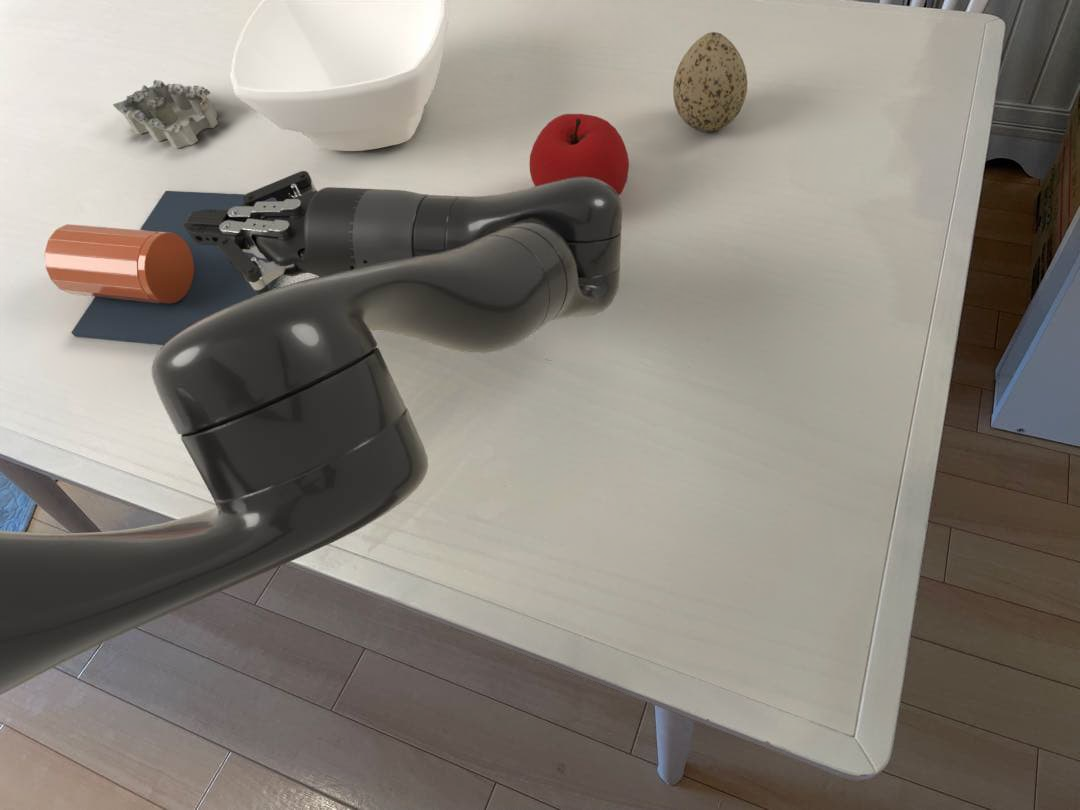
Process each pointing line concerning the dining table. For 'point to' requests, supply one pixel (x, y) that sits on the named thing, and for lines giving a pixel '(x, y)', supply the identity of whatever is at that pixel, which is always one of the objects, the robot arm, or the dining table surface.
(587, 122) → the apple
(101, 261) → the cup
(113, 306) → the mat
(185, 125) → the grey jagged stone ring
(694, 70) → the decorative egg
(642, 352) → the dining table surface
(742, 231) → the dining table surface
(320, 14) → the bowl
